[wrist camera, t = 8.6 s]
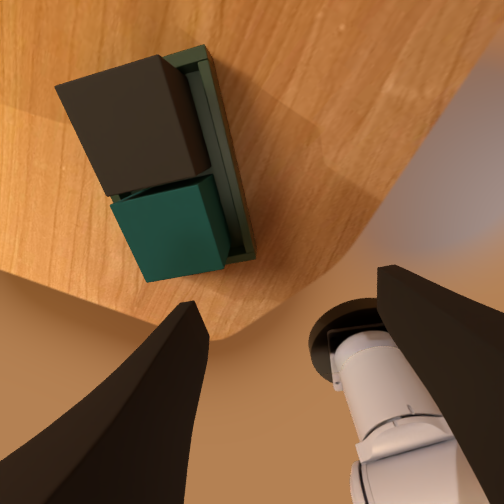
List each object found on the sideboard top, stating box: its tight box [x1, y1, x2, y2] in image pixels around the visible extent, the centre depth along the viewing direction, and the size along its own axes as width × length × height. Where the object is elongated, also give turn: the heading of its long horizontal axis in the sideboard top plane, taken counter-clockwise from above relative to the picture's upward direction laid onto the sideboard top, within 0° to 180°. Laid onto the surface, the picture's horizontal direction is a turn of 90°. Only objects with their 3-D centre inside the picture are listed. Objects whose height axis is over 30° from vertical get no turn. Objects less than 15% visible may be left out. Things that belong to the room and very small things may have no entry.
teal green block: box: [110, 174, 232, 283], centre depth 15 cm, size 5×5×4 cm
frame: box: [110, 44, 257, 265], centre depth 16 cm, size 12×8×2 cm
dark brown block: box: [55, 55, 212, 197], centre depth 13 cm, size 5×5×4 cm
